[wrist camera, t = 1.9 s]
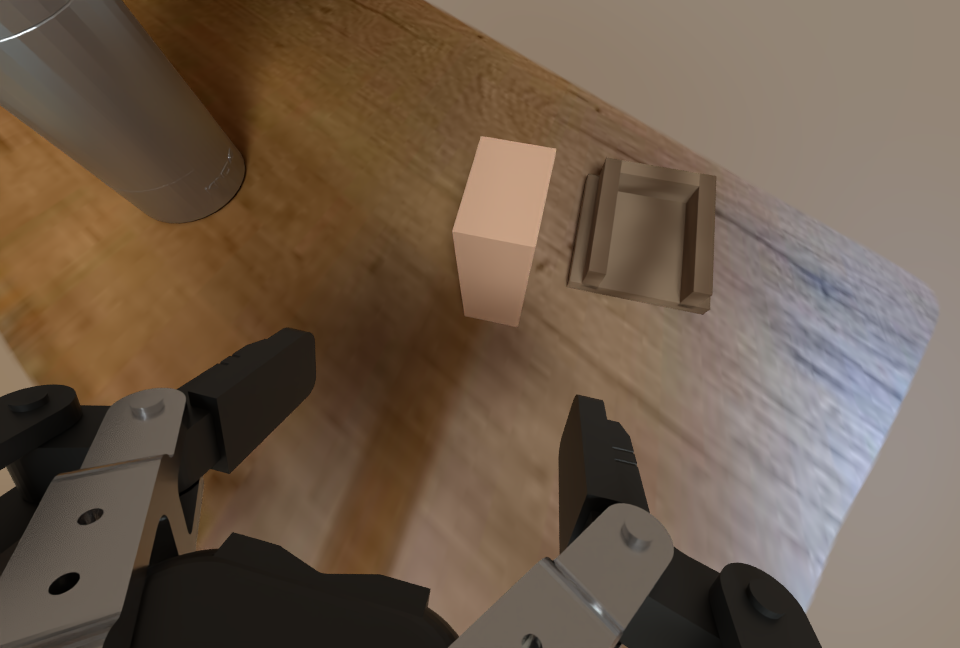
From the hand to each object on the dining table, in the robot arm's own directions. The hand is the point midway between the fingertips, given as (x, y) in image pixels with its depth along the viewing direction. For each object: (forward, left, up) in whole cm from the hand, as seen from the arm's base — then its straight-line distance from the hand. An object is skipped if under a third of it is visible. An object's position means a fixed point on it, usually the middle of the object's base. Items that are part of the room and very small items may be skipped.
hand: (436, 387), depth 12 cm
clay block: (0, +11, -15) cm, 19 cm away
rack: (+10, +17, -15) cm, 25 cm away
